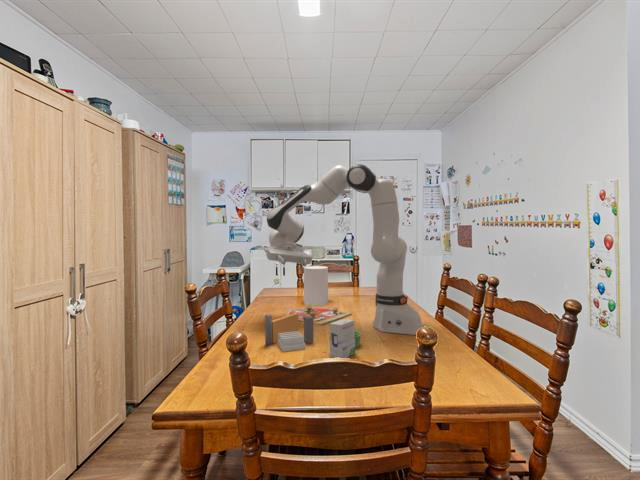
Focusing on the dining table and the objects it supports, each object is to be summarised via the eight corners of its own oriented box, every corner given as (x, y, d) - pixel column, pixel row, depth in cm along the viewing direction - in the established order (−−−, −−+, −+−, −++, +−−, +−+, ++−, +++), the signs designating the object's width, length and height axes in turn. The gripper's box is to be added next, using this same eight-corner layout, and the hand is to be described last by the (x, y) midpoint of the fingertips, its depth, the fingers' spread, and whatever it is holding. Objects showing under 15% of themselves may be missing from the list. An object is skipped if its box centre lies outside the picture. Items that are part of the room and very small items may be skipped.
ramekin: (355, 350, 132) (355, 338, 132) (332, 346, 137) (332, 335, 136) (364, 343, 140) (364, 332, 140) (343, 339, 144) (343, 328, 144)
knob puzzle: (318, 329, 161) (318, 318, 161) (269, 318, 179) (269, 309, 178) (354, 315, 184) (354, 306, 184) (307, 307, 202) (307, 298, 202)
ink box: (341, 361, 122) (341, 325, 122) (328, 357, 126) (328, 322, 125) (356, 353, 129) (355, 320, 128) (343, 350, 132) (343, 317, 132)
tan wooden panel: (273, 343, 136) (273, 321, 136) (270, 342, 137) (269, 321, 137) (297, 333, 148) (297, 313, 147) (294, 333, 149) (294, 313, 148)
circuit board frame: (306, 334, 151) (306, 305, 150) (323, 350, 132) (323, 317, 131) (256, 340, 144) (256, 309, 143) (267, 358, 125) (267, 323, 125)
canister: (322, 299, 218) (322, 265, 217) (331, 304, 205) (331, 268, 204) (300, 301, 213) (300, 266, 212) (308, 306, 201) (308, 269, 200)
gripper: (264, 240, 162) (272, 254, 150) (307, 246, 171) (318, 259, 159) (261, 253, 164) (269, 268, 152) (303, 258, 173) (314, 272, 161)
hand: (294, 263), depth 156 cm, fingers open, 8 cm apart
